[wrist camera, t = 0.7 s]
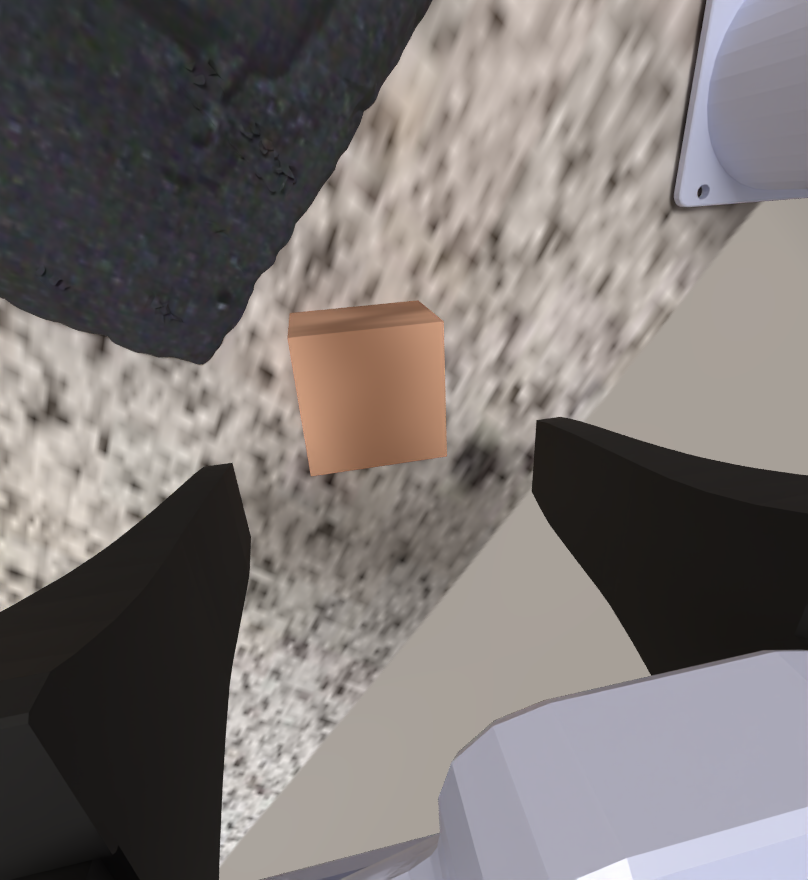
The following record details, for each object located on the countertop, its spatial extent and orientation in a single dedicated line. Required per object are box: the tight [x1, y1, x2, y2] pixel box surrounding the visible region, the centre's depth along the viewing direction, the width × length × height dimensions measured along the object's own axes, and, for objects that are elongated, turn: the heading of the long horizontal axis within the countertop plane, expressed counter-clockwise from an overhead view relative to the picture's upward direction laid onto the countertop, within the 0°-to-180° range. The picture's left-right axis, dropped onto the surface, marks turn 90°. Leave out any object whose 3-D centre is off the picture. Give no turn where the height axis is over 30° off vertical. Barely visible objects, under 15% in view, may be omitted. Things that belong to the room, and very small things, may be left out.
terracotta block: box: [288, 301, 447, 476], centre depth 18 cm, size 5×5×4 cm
